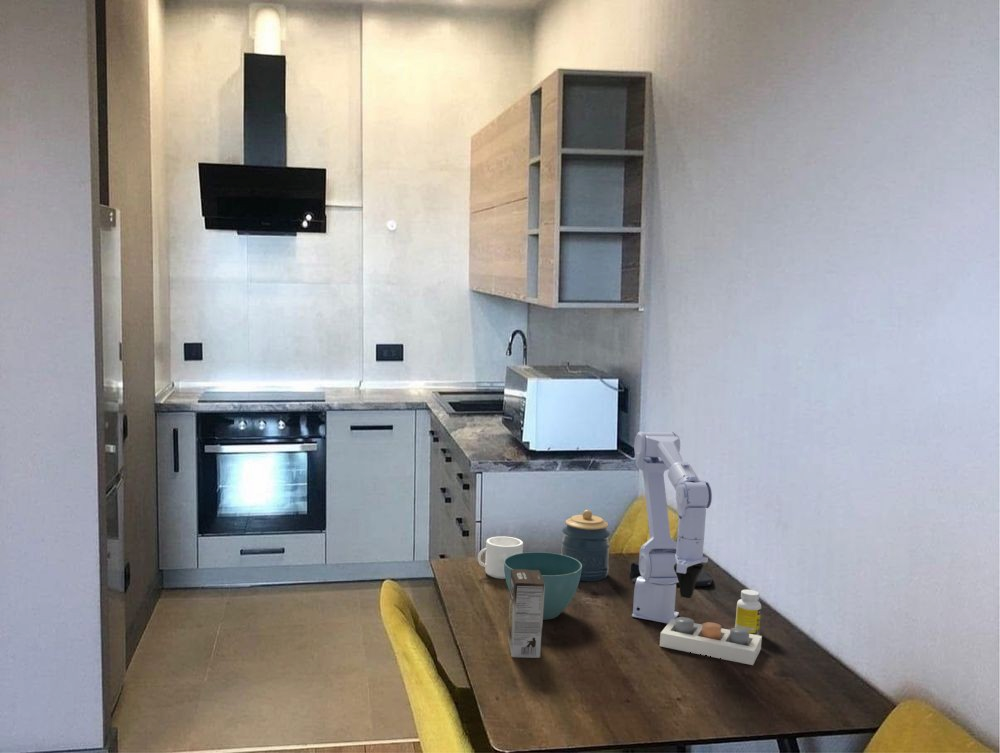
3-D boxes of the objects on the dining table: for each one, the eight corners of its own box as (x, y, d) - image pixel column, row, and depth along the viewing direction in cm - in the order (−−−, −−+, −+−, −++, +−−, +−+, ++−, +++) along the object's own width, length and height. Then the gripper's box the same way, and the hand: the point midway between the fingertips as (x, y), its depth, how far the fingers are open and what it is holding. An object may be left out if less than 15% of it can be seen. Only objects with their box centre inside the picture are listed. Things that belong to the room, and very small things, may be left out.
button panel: (659, 646, 209) (660, 632, 209) (670, 631, 219) (671, 618, 218) (753, 665, 201) (754, 651, 201) (760, 649, 211) (761, 636, 210)
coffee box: (506, 641, 208) (510, 568, 207) (536, 641, 209) (540, 569, 207) (510, 657, 199) (514, 582, 198) (541, 658, 200) (545, 582, 198)
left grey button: (672, 633, 211) (673, 621, 211) (677, 628, 215) (677, 615, 214) (690, 637, 210) (691, 624, 209) (694, 631, 213) (695, 619, 213)
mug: (481, 582, 247) (483, 548, 246) (472, 570, 257) (473, 536, 256) (526, 580, 250) (528, 546, 249) (515, 568, 260) (517, 535, 259)
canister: (554, 567, 263) (558, 503, 261) (600, 566, 265) (604, 504, 263) (566, 582, 250) (570, 516, 248) (614, 582, 252) (618, 516, 250)
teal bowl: (533, 633, 213) (536, 579, 212) (486, 608, 228) (488, 557, 227) (594, 619, 224) (598, 568, 223) (545, 596, 239) (548, 547, 237)
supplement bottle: (759, 639, 216) (763, 597, 215) (735, 636, 217) (738, 594, 216) (758, 631, 222) (761, 589, 221) (734, 628, 223) (737, 587, 222)
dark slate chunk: (713, 593, 248) (714, 575, 248) (627, 584, 252) (628, 567, 251) (710, 575, 263) (711, 558, 263) (629, 567, 267) (630, 551, 266)
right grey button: (727, 644, 206) (728, 632, 206) (731, 638, 210) (732, 626, 210) (746, 648, 205) (747, 635, 204) (749, 642, 208) (750, 629, 208)
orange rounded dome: (699, 639, 209) (700, 626, 208) (703, 633, 212) (704, 621, 212) (718, 642, 207) (719, 630, 207) (722, 636, 211) (723, 624, 210)
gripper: (701, 547, 202) (697, 609, 203) (715, 531, 215) (711, 590, 216) (668, 541, 204) (664, 603, 206) (684, 526, 218) (680, 585, 219)
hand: (686, 596), depth 211 cm, fingers closed
